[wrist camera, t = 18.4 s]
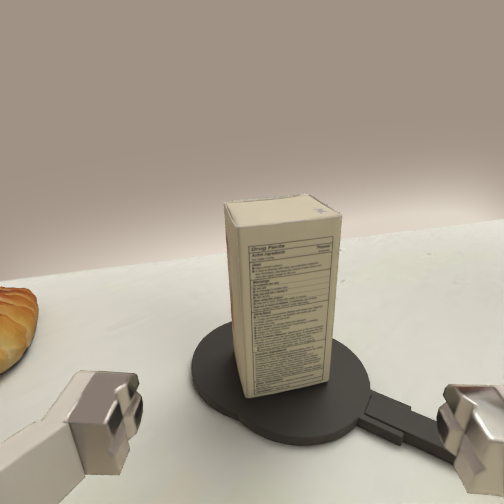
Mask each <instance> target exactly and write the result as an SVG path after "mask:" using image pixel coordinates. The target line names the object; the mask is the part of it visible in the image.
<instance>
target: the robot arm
mask: <svg viewBox="0 0 504 504" xmlns="http://www.w3.org/2000/svg"><path fill="white" fill-rule="evenodd" d="M138 386H139V381H138V376H137V374H135V373H123V372H107V371H85V370H80V371H79V372H77V373H76V374H75V375H74V376H73V377H72V379H71V380H70V382H69V383H68V384H67V386H66V387H65V389H64V390H63V391H62V393H61V394H60V395H59V397H58V398H57V400H56V401H55V402H54V404H53V405H52V407H51V408H50V409H49V411H48V412H47V413H46V415H45V416H44V418H43V419H42V420H41V422H33V423H32V424H30V425H29V426H27V427H25V428H24V429H22V430H21V431H19V432H18V433H16V434H15V435H13V436H11V437H10V438H8V439H7V440H5V441H4V442H2V443H0V504H59V503H60V502H61V501H62V500H63V499H64V498H65V497H66V496H67V495H68V494H69V493H70V492H71V491H72V490H73V489H74V488H75V487H76V486H77V485H78V484H79V483H80V482H81V481H82V480H83V479H84V478H85V475H120V473H121V470H122V468H123V465H124V463H125V461H126V458H127V456H128V453H129V451H130V447H129V442H128V440H129V439H131V438H132V437H133V436H134V435H135V434H136V433H137V431H138V428H139V426H140V423H141V418H142V413H143V401H142V396H141V395H140V394H139V393H138V392H137V391H136V390H137V388H138ZM443 396H444V398H445V400H446V403H445V404H443V405H442V406H441V407H439V409H438V413H437V417H436V418H437V429H438V432H439V436H440V439H441V441H442V443H443V445H444V447H445V448H446V449H447V450H448V451H450V452H451V453H452V454H453V455H454V456H455V460H454V464H453V465H454V467H455V469H456V471H457V473H458V475H459V477H460V479H461V481H462V483H463V485H464V487H465V489H466V491H467V493H471V494H483V495H496V496H504V385H489V386H488V385H464V384H449V385H448V386H447V387H446V388H445V390H444V393H443Z"/></svg>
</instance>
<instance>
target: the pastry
mask: <svg viewBox="0 0 504 504" xmlns="http://www.w3.org/2000/svg"><path fill="white" fill-rule="evenodd" d="M38 310H39V309H38V304H37V299H36V296H35V295H34V294H33V293H32V292H31V291H30V290H29V289H26V288H5V287H0V374H1V373H4V372H5V371H6V370H8V369H9V368H10V367H11V366H12V365H14V364H15V363H16V362H17V361H18V360H20V359H21V357H22V355H23V353H24V351H25V350H26V348H27V347H28V346H30V344H31V341H32V339H33V335H34V333H35V328H36V323H37V317H38Z"/></svg>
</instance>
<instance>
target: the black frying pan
mask: <svg viewBox="0 0 504 504" xmlns="http://www.w3.org/2000/svg"><path fill="white" fill-rule="evenodd" d="M192 376H193V381H194V384H195V387H196V389H197V391H198V392H199V394H200V395H201V397H202V398H203V399H204V400H205V401H206V402H207V403H208V404H209V405H210V406H211V407H213V408H214V409H216V410H217V411H219V412H221V413H223V414H225V415H227V416H230V417H233V418H235V419H239V420H240V421H241V422H242V423H243V424H244V425H246V426H247V427H248V428H249V429H251V430H252V431H254V432H255V433H257V434H259V435H261V436H263V437H265V438H268V439H271V440H273V441H276V442H280V443H285V444H290V445H316V444H323V443H326V442H330V441H333V440H335V439H338V438H340V437H342V436H344V435H345V434H347V433H348V432H350V431H351V430H352V429H353V428H354V427H355V426H357V425H358V426H360V427H362V428H364V429H366V430H368V431H370V432H372V433H374V434H376V435H378V436H381V437H383V438H385V439H387V440H389V441H391V442H393V443H395V444H397V445H399V446H401V445H402V441H405V442H407V443H409V444H411V445H413V446H415V447H418V448H420V449H422V450H424V451H426V452H428V453H430V454H432V455H435V456H437V457H439V458H441V459H443V460H445V461H447V462H450V463H452V464H454V460H455V456H454V455H453V454H452V453H451V452H450V451H448V450H447V449H446V448H445V447H444V445H443V443H442V441H441V439H440V436H439V432H438V429H437V421H435V420H432V419H430V418H427V417H425V416H423V415H420V414H418V413H416V412H413V411H411V407H410V406H408V405H406V404H403V403H401V402H399V401H396V400H394V399H391V398H389V397H387V396H384V395H382V394H379V393H377V392H375V391H372V390H370V382H369V378H368V375H367V372H366V370H365V368H364V366H363V364H362V363H361V361H360V360H359V359H358V358H357V356H356V355H355V354H354V353H353V352H352V351H351V350H350V349H348V348H347V347H346V346H344V345H343V344H341V343H340V342H338V341H337V340H335V339H333V338H332V348H331V361H330V373H329V380H328V381H327V382H323V383H319V384H315V385H311V386H307V387H303V388H298V389H293V390H288V391H283V392H279V393H275V394H270V395H264V396H259V397H254V398H246V397H245V395H244V392H243V388H242V384H241V380H240V376H239V372H238V368H237V363H236V359H235V354H234V346H233V331H232V322H229V323H226V324H224V325H222V326H220V327H218V328H216V329H215V330H213V331H212V332H210V333H209V334H208V335H207V336H206V337H204V338H203V340H202V341H201V342H200V343H199V345H198V346H197V348H196V350H195V352H194V355H193V359H192Z"/></svg>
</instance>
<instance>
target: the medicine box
mask: <svg viewBox="0 0 504 504" xmlns="http://www.w3.org/2000/svg"><path fill="white" fill-rule="evenodd" d="M224 213H225V228H226V242H227V258H228V272H229V287H230V299H231V316H232V331H233V346H234V354H235V359H236V363H237V368H238V372H239V376H240V380H241V384H242V388H243V392H244V395H245V397H246V398H254V397H259V396H264V395H270V394H275V393H279V392H283V391H288V390H293V389H298V388H303V387H307V386H311V385H315V384H319V383H323V382H327V381H328V380H329V373H330V361H331V348H332V335H333V323H334V311H335V298H336V284H337V272H338V260H339V247H340V234H341V223H342V214H340V213H339V212H337V211H335V210H334V209H333V208H331V207H329V206H328V205H327V204H325V203H323V202H321V201H320V200H319V199H317V198H315V197H313V196H312V195H310V194H298V195H290V196H280V197H267V198H258V199H246V200H238V201H225V202H224Z"/></svg>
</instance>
